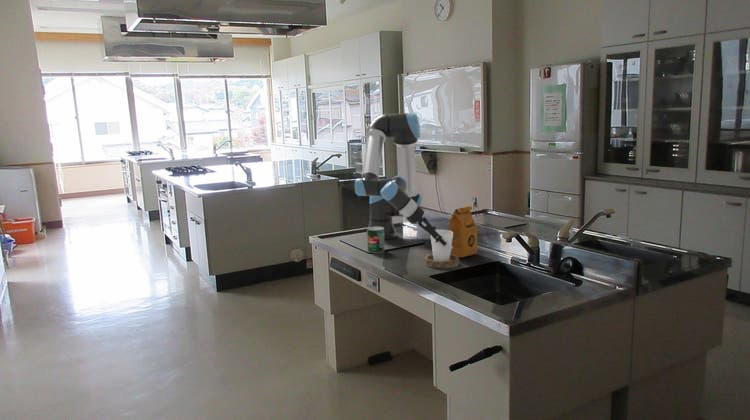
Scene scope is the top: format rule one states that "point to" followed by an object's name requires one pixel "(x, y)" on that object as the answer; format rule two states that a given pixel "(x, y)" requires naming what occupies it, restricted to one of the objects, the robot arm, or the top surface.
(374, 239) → the canned tomato
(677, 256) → the top surface
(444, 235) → the foam cup
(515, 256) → the top surface
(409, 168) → the robot arm
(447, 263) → the walnut ring holder
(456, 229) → the coffee package
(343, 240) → the top surface
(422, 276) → the top surface
